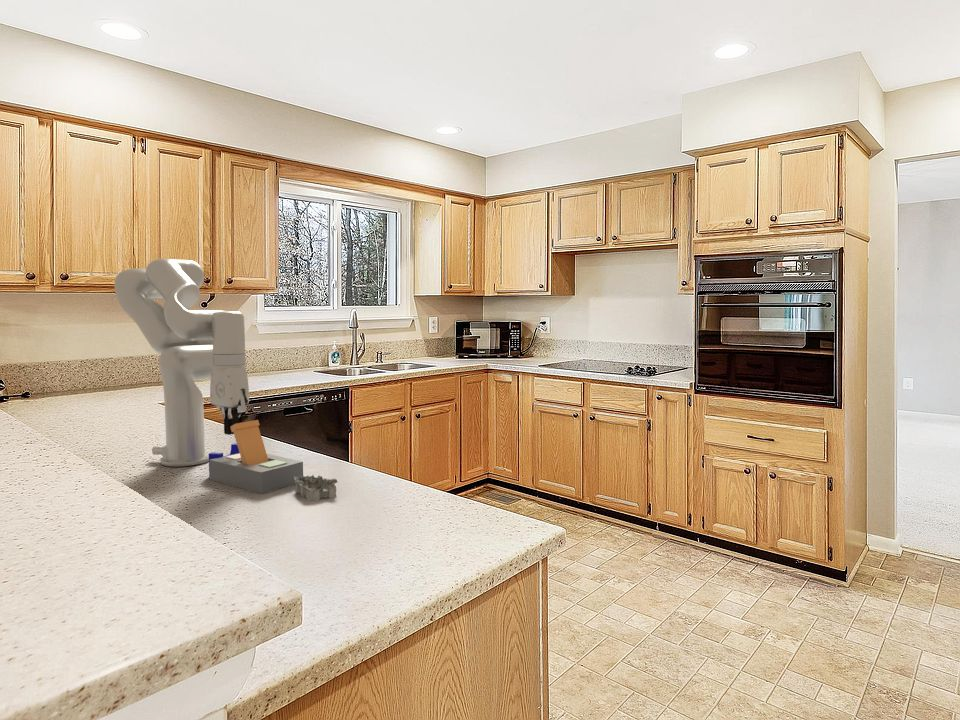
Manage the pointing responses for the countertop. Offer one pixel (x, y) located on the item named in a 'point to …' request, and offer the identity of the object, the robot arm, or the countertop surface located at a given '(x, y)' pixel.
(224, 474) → the breaker box
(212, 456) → the cable clip
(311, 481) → the egg carton
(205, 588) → the countertop surface
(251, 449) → the breaker lever
